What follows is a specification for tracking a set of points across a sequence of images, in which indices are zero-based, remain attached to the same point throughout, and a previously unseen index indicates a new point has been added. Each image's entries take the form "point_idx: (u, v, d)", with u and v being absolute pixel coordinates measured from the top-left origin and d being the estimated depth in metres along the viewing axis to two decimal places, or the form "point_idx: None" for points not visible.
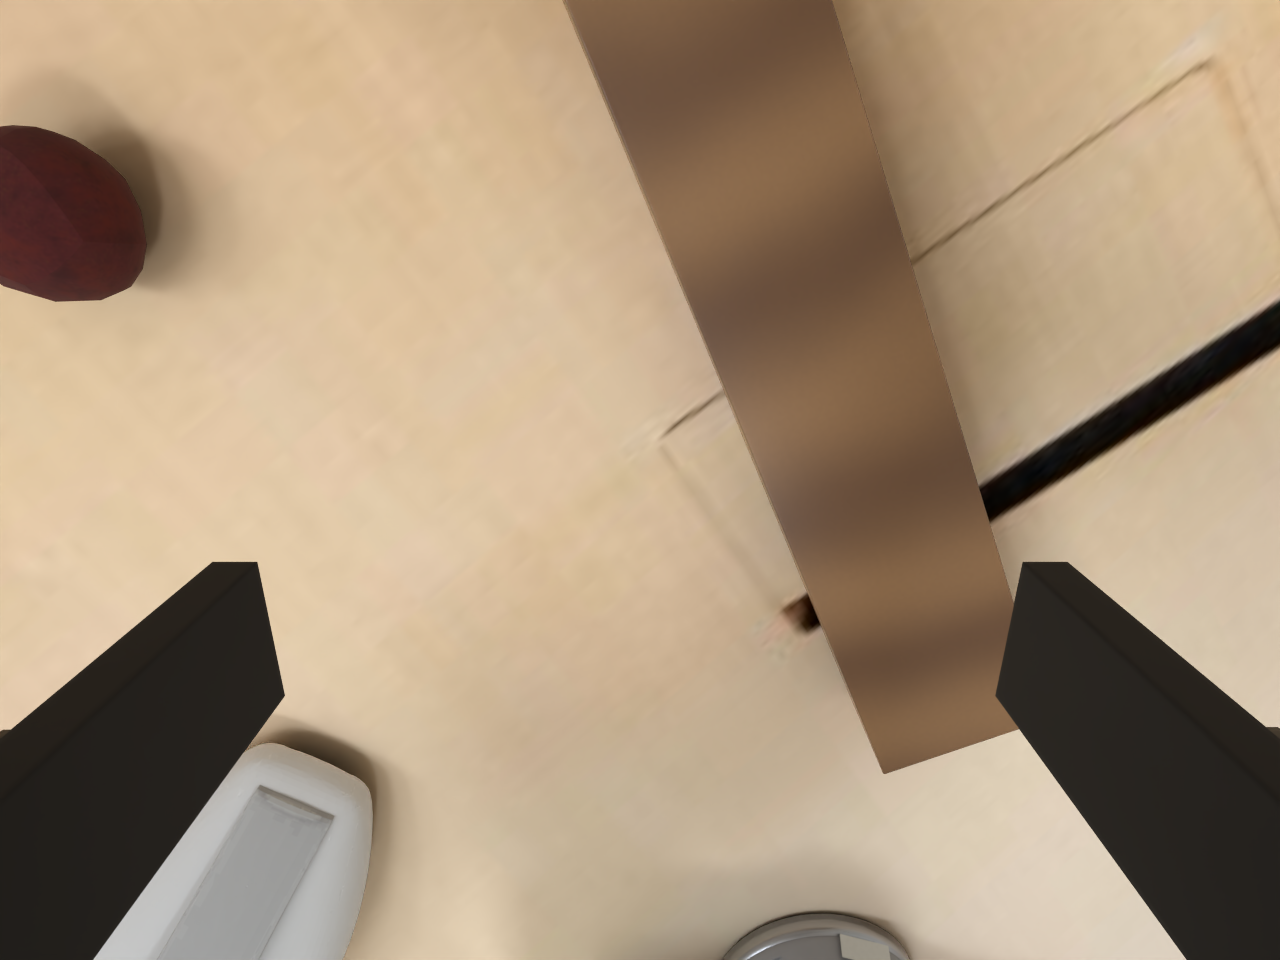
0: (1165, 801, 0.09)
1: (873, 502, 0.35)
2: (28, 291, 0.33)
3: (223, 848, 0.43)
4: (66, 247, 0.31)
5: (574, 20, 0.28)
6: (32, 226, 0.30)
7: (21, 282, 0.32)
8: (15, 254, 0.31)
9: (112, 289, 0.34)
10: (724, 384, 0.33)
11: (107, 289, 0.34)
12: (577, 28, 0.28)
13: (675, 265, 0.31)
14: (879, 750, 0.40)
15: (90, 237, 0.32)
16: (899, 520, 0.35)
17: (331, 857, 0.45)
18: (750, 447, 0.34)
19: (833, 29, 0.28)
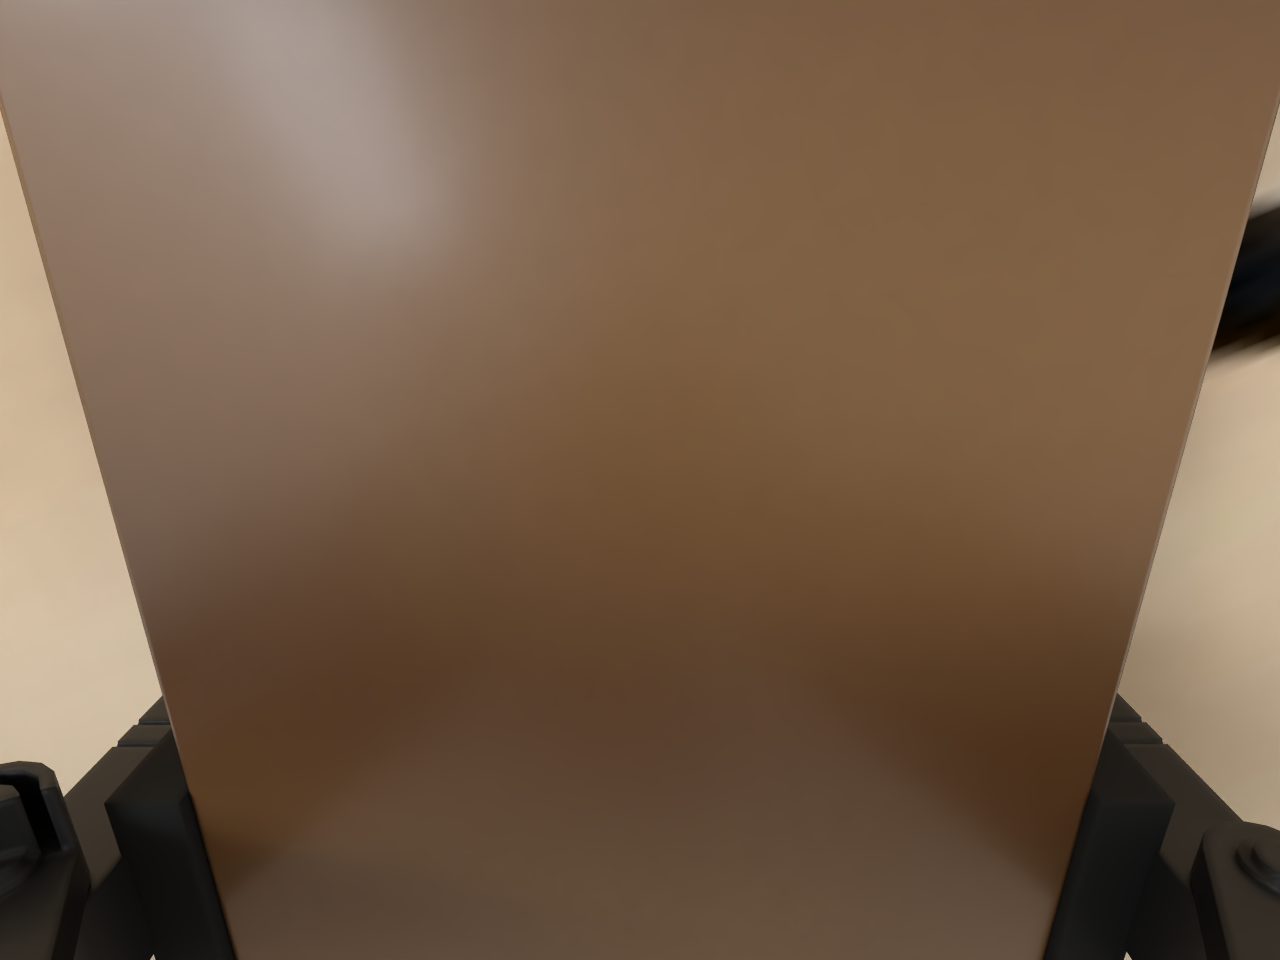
0: None
1: None
2: None
3: None
4: None
5: None
6: None
7: None
8: None
9: None
10: None
11: None
12: None
13: None
14: None
15: None
16: None
17: None
18: None
19: None
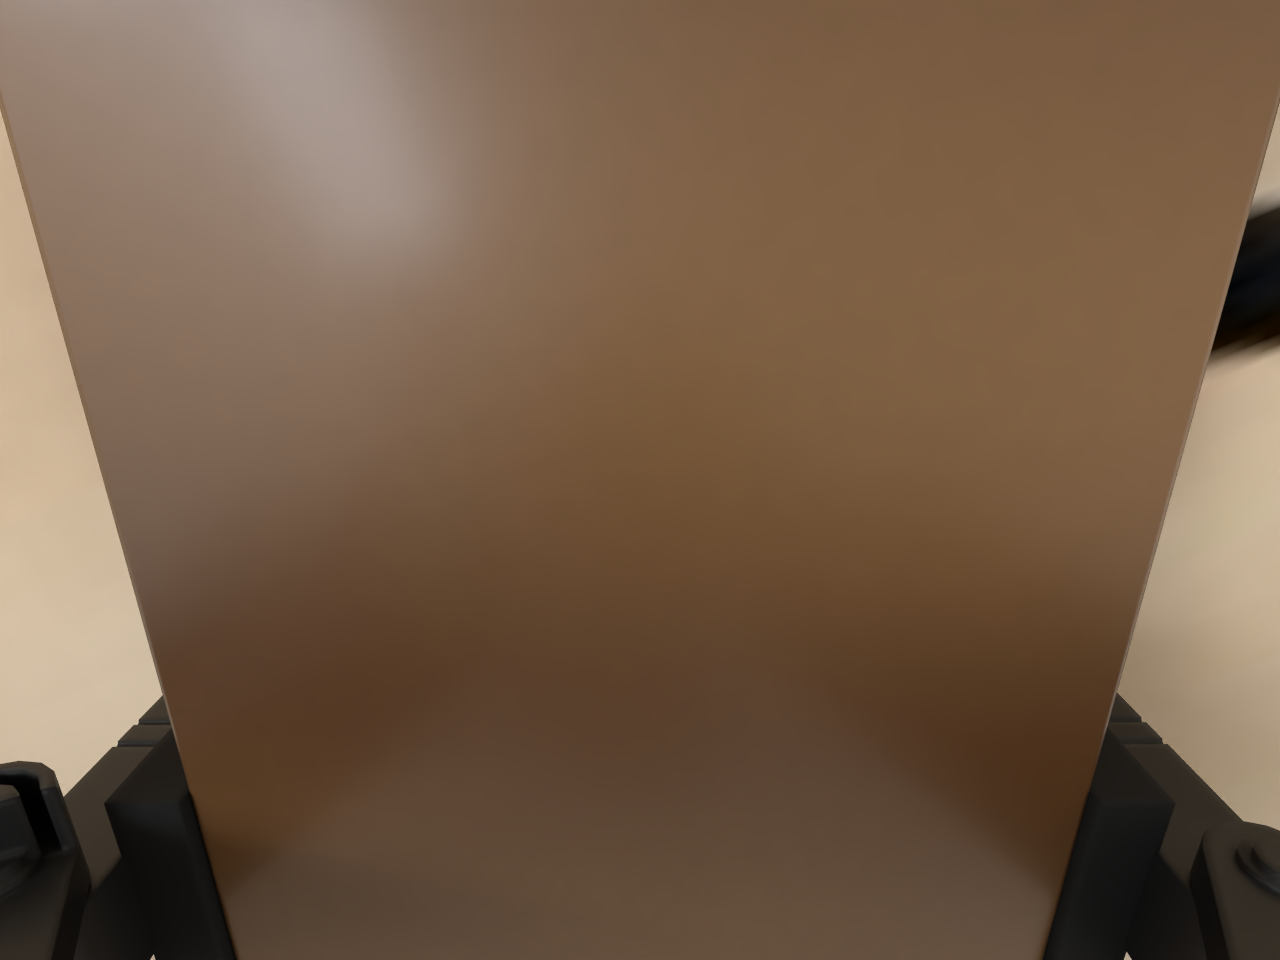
0: None
1: None
2: None
3: None
4: None
5: None
6: None
7: None
8: None
9: None
10: None
11: None
12: None
13: None
14: None
15: None
16: None
17: None
18: None
19: None
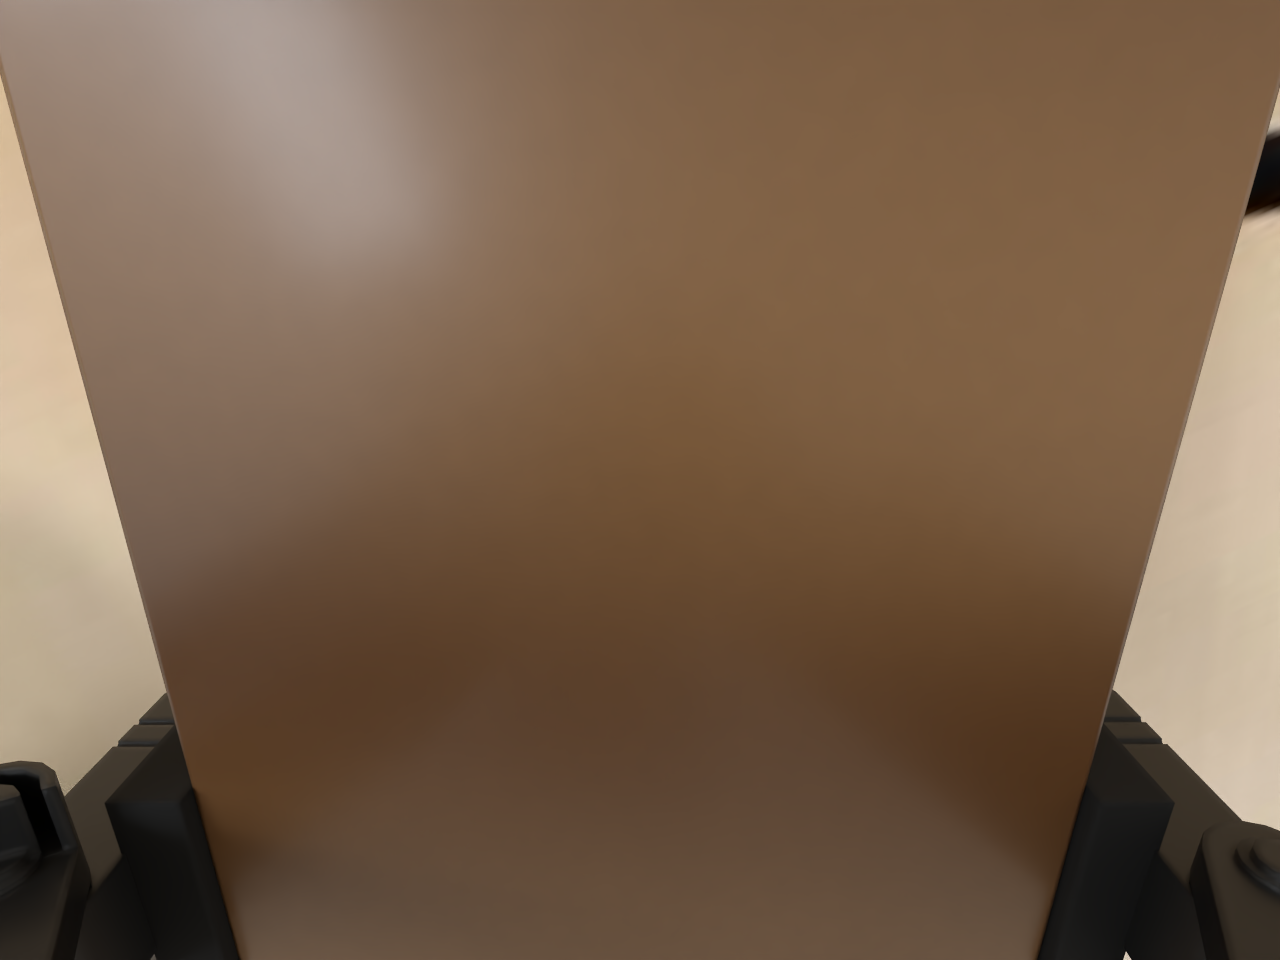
0: None
1: None
2: None
3: None
4: None
5: None
6: None
7: None
8: None
9: None
10: None
11: None
12: None
13: None
14: None
15: None
16: None
17: None
18: None
19: None
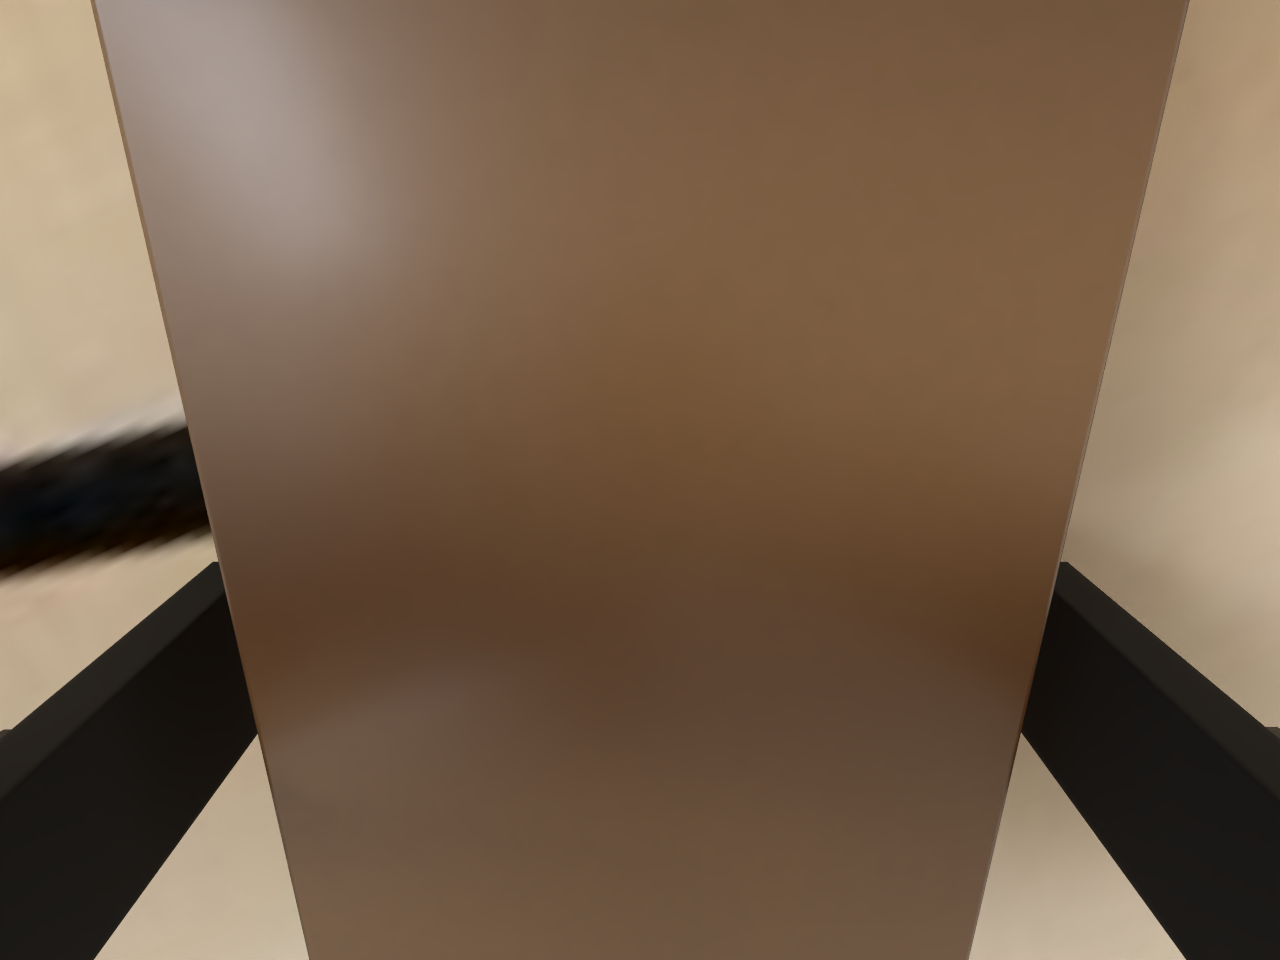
0: (1164, 801, 0.09)
1: None
2: None
3: None
4: None
5: None
6: None
7: None
8: None
9: None
10: None
11: None
12: None
13: None
14: None
15: None
16: None
17: None
18: None
19: None
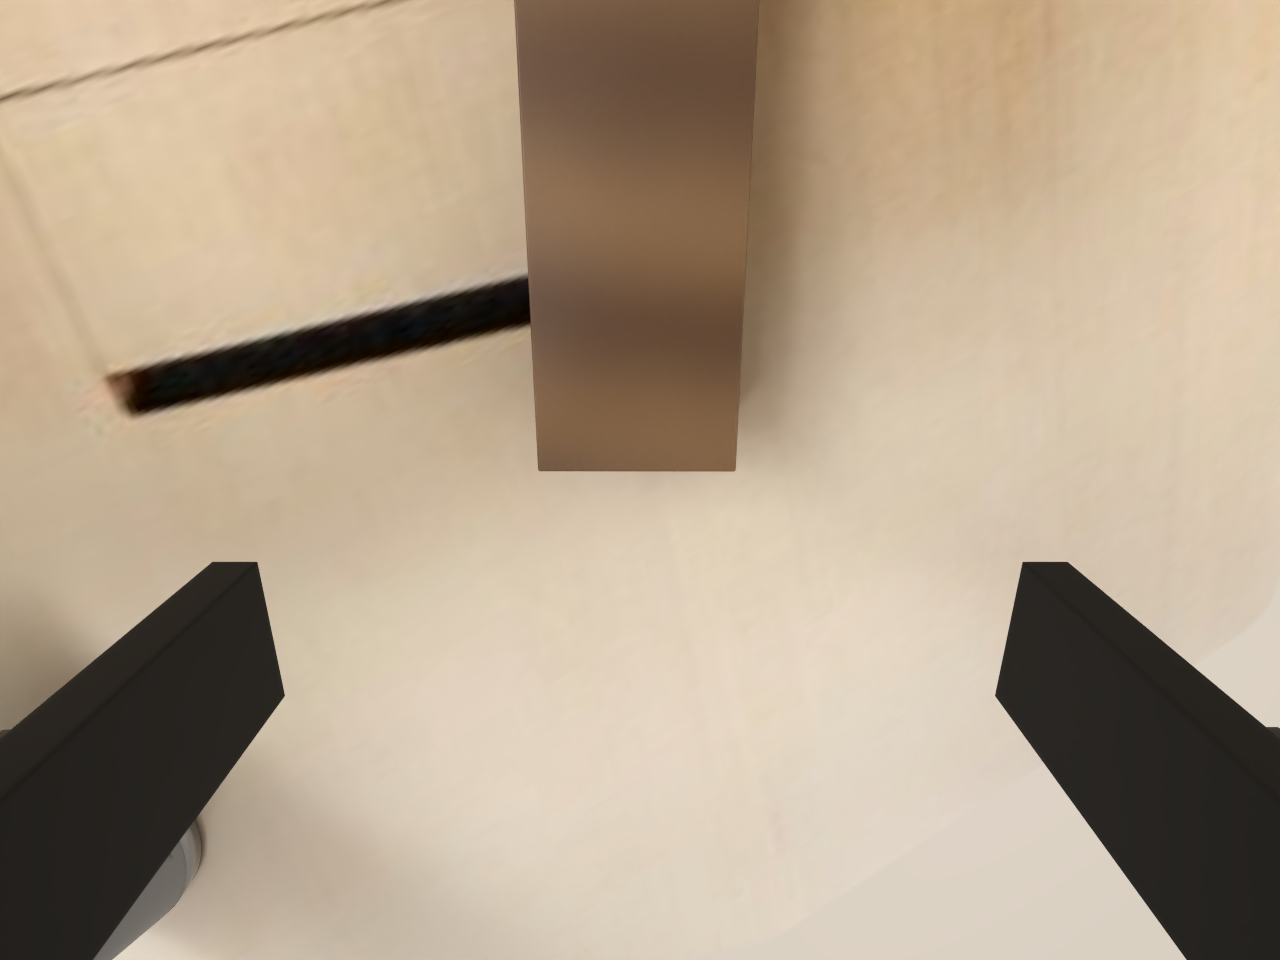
0: (1164, 802, 0.09)
1: (632, 87, 0.28)
2: None
3: None
4: None
5: None
6: None
7: None
8: None
9: None
10: None
11: None
12: None
13: None
14: (542, 436, 0.33)
15: None
16: (654, 128, 0.29)
17: None
18: None
19: None
